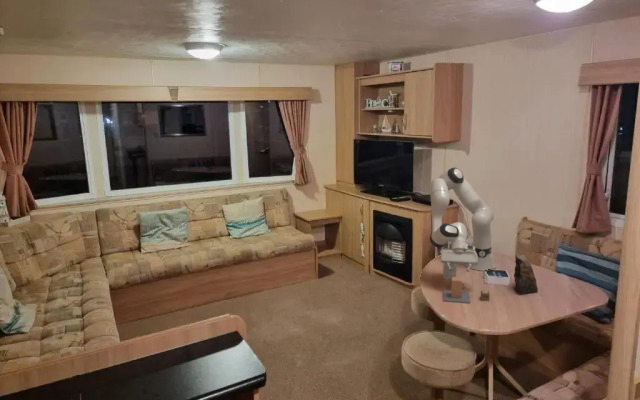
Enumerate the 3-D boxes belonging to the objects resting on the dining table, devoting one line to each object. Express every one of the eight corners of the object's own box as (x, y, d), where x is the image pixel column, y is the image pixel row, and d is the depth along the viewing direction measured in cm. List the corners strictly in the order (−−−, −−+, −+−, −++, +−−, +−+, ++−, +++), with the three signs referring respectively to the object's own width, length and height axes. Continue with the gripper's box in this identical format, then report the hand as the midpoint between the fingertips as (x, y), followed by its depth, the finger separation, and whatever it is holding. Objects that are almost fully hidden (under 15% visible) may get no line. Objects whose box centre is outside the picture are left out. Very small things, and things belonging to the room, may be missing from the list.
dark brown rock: (519, 295, 240) (522, 261, 236) (504, 286, 252) (506, 254, 248) (538, 292, 243) (541, 259, 239) (523, 284, 255) (525, 251, 251)
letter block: (480, 297, 240) (480, 290, 239) (488, 298, 239) (488, 291, 238) (481, 300, 236) (481, 293, 235) (489, 301, 235) (489, 294, 234)
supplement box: (456, 280, 264) (457, 260, 261) (443, 279, 265) (444, 260, 263) (455, 275, 271) (455, 256, 268) (442, 275, 273) (443, 256, 270)
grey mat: (443, 290, 250) (443, 289, 249) (468, 292, 246) (468, 291, 246) (443, 301, 236) (443, 300, 236) (470, 303, 233) (470, 302, 233)
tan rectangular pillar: (451, 293, 244) (452, 276, 242) (461, 294, 243) (462, 277, 241) (451, 297, 239) (451, 280, 237) (461, 298, 238) (462, 281, 236)
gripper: (440, 245, 251) (440, 267, 244) (477, 247, 245) (478, 269, 238) (440, 250, 256) (440, 271, 249) (477, 252, 251) (477, 274, 243)
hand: (459, 270), depth 244 cm, fingers open, 8 cm apart
